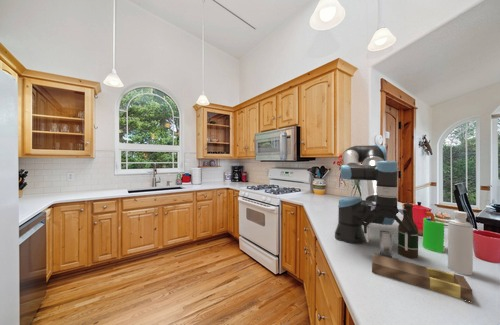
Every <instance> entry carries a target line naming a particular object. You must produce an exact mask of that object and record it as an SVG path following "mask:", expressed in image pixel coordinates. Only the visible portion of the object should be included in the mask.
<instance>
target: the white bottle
mask: <svg viewBox="0 0 500 325" xmlns="http://www.w3.org/2000/svg"><path fill="white" fill-rule="evenodd" d="M453 216H454V219H451V220H449V221H448V225H447V226H448V227H447V228H448V230H447V233H448V234H447V236H448V237H447V268H448V269H449V270H450V271H452V272H454V273H457V274H459V275H462V276H472V275H473V269H474V268H473V265H474V264H473V262H474V261H473V260H474V258H473V256H474V225H473V224H471V223H470V222H468V221H467V218H468V212H465V211H459V210H454V211H453Z"/></svg>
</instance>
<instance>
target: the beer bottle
mask: <svg viewBox="0 0 500 325" xmlns="http://www.w3.org/2000/svg"><path fill="white" fill-rule="evenodd" d="M413 208H414V205H413V204H412V203H410V202H409V203H408V202H407V203H405V202H404V203H403V209H406V211H407V215H408V217H409V219H410V221H411V222H412V224H413V226H414V227H415V229H416V231H417V234H412V235H411V242H408V251H407V250H405V233H407V232H406V231H405V230H404V229H403V228H402V227H401V226H400V225H399V224H398V228H397V254H398V255H400V257H401V256H402V257H403V258H407V259H411V260H412V259H413V260H414V259H416V260H417V259H419V227H418V226H417V224H416V223H415V222H414V212H413ZM401 221H402V222H403V223H404V224H405V226H406V227H407V228H408V229H409V230H411V228H410V226H409V224H408V223H407V221H406V219H405V217H404V215H402V220H401Z"/></svg>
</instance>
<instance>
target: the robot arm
mask: <svg viewBox="0 0 500 325" xmlns="http://www.w3.org/2000/svg"><path fill="white" fill-rule="evenodd" d="M387 158H388V157H387V151H386V147H385V146H383V145H381V144H374V145H373V144H372V145H354V146H350V147H349V148H346V149H345V150H344V151H343V152H342V155H341V160H342V161H343V164H341V165H340V179H342V180H347V181H348V180H351V181H354V180H355V181H366V183H367V186H366V187H367V194H368V195H367V196H366V197H365V200H363V198H362V197H361V196H345V197H340V198H339V199H338V206H337V207H338V215H337V216H338V218H337V221H338V223H337V226H336V228H335V230H334V237H335V239H337V240H338V241H340V242H342V243H348V244H353V245H362V244H364V243H369V242H370V225H371V224H378V225H383V226H384V225H385V226H392V225H393V224H394V223H395V222H396V223H398V226H399V225H400V226H401V227H402V228H403V229H404V230H405V231H406V232H407V233H405V250H407V251H408V242H411V235H412V234H417V231H416V229H415V227H414V226H413V224H412V222H411V221H410V219H409V217H408V215H407V211H406V209H404V208H401V209H400V208H398V198H397V197H398V179H399V178H398V171H399V168H398V167H399V166H398V162H397V161H395V160H387ZM361 164H362V165H361ZM398 213H400V214H401V215H402V216H403V215H404V217H405V219H406V221H407V223H408V224H409V226H410V228H411V230H409V229H408V228H407V227H406V226H405V224H404V223H403V222H402V220H401V219H400V218H399V216H398V215H397V214H398ZM362 226H363V227H362ZM365 234H366V235H365Z"/></svg>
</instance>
